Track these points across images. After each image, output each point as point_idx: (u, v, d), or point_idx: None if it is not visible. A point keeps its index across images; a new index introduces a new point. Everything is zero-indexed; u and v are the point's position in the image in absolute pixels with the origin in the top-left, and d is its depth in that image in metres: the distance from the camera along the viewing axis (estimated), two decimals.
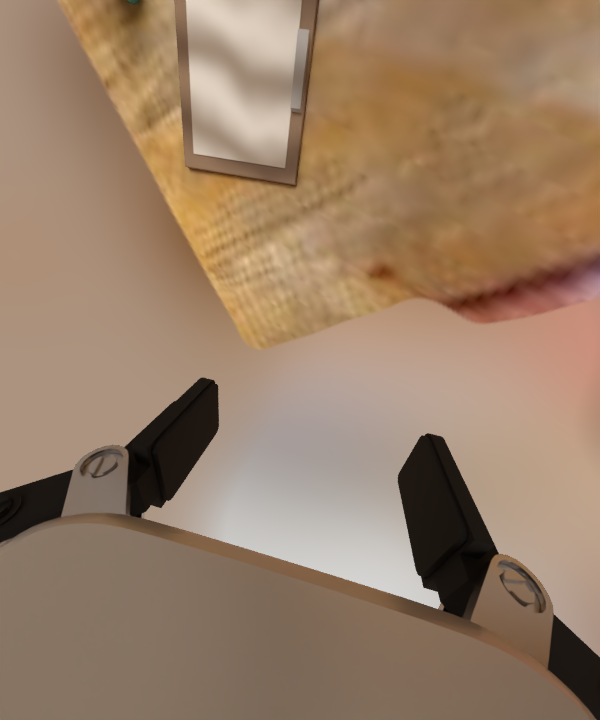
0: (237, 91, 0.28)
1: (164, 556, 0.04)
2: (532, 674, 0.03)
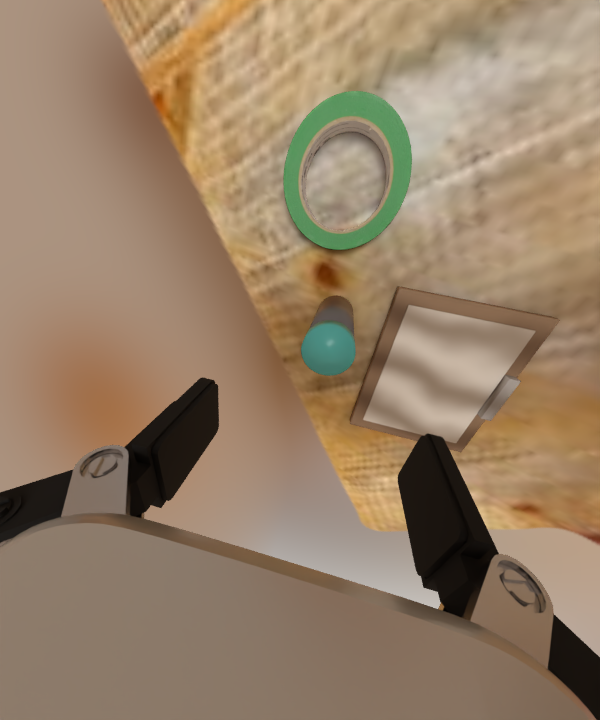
0: (425, 394, 0.30)
1: (164, 556, 0.04)
2: (532, 674, 0.03)
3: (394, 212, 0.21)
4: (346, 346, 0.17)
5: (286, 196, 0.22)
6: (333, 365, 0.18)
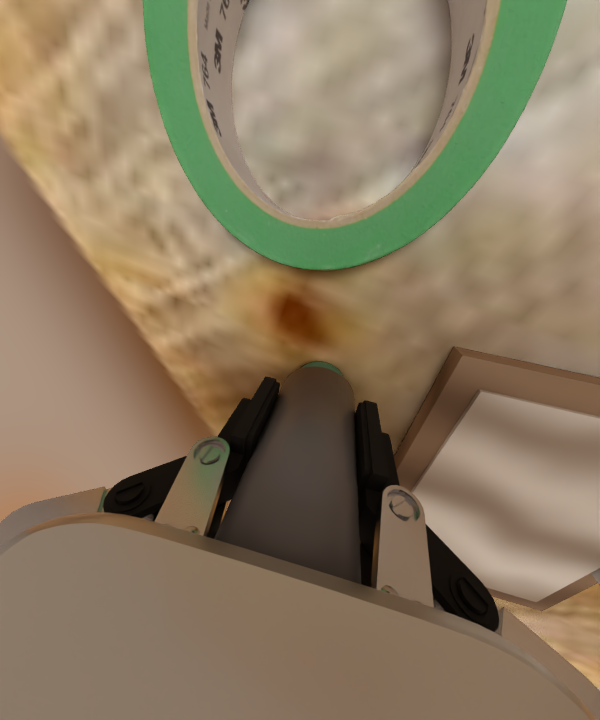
0: (492, 536, 0.16)
1: (164, 556, 0.04)
2: (532, 674, 0.03)
3: (483, 162, 0.07)
4: None
5: (167, 123, 0.08)
6: None
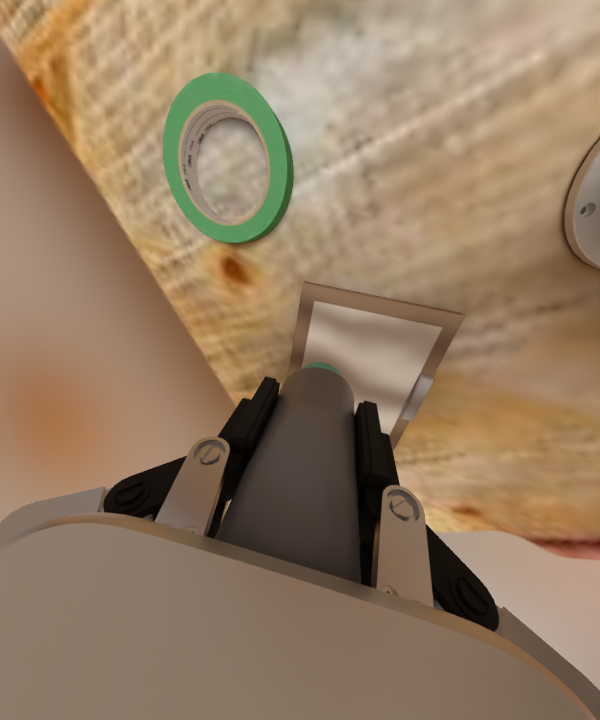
0: None
1: (164, 556, 0.04)
2: (532, 674, 0.03)
3: (278, 202, 0.20)
4: None
5: (171, 186, 0.21)
6: None
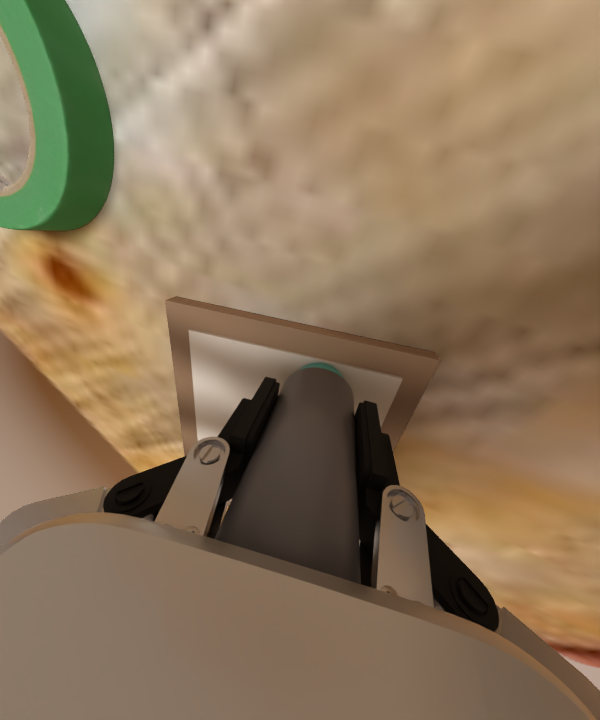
0: None
1: (164, 556, 0.04)
2: (532, 674, 0.03)
3: (62, 145, 0.10)
4: None
5: None
6: None
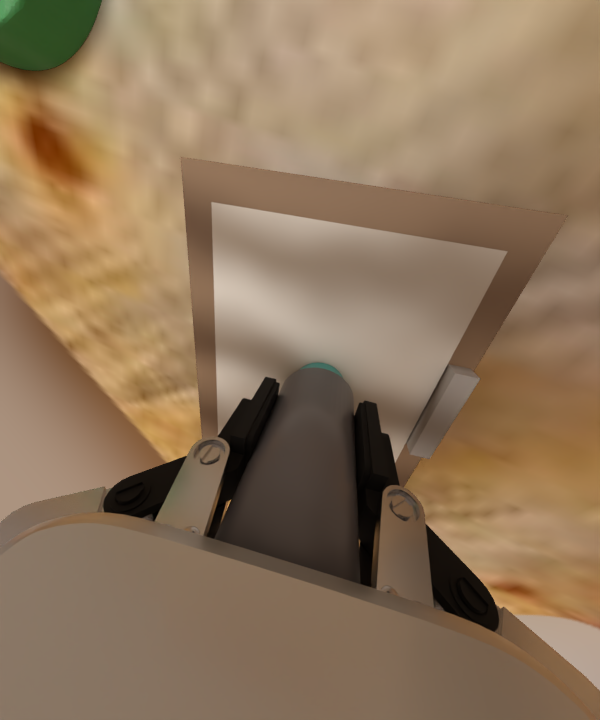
0: None
1: (164, 556, 0.04)
2: (532, 674, 0.03)
3: None
4: None
5: None
6: None
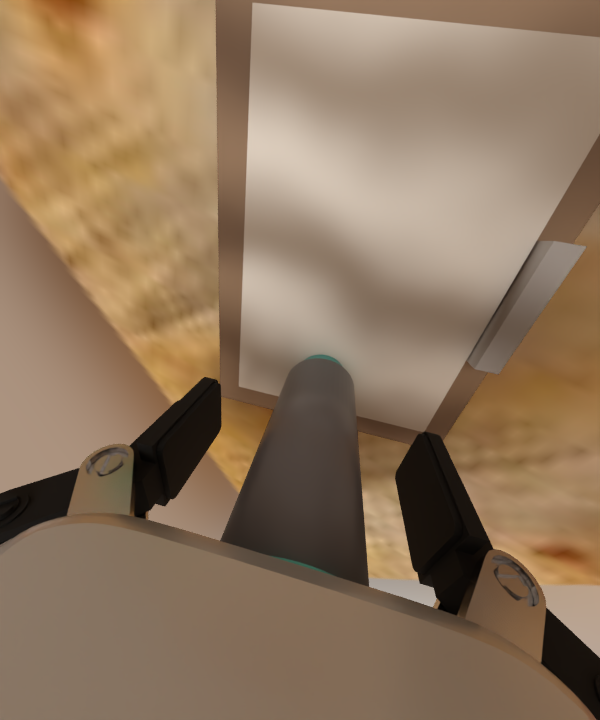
0: (347, 317, 0.13)
1: (164, 556, 0.04)
2: (532, 674, 0.03)
3: None
4: None
5: None
6: None
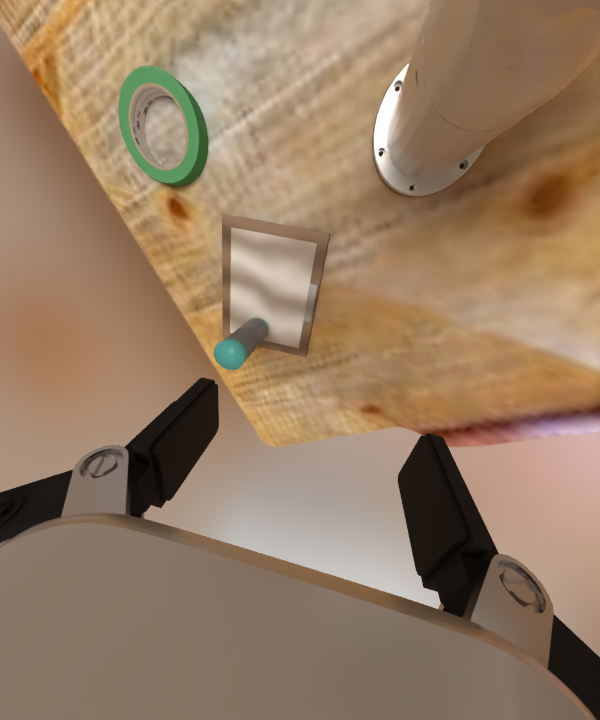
0: (265, 304, 0.39)
1: (164, 556, 0.04)
2: (532, 674, 0.03)
3: (195, 152, 0.30)
4: (237, 353, 0.30)
5: (126, 142, 0.31)
6: (233, 364, 0.31)
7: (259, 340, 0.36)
